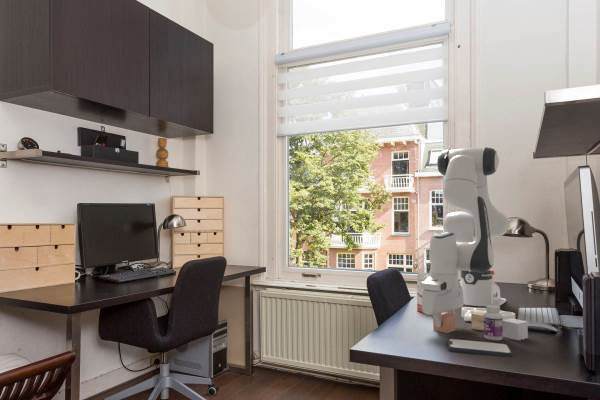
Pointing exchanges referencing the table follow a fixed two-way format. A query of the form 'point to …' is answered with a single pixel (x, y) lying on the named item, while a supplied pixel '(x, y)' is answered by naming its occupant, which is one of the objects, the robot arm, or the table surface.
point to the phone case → (478, 347)
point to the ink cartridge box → (420, 290)
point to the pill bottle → (493, 323)
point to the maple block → (477, 320)
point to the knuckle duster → (468, 311)
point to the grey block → (515, 329)
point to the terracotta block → (446, 323)
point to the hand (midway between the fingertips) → (444, 324)
